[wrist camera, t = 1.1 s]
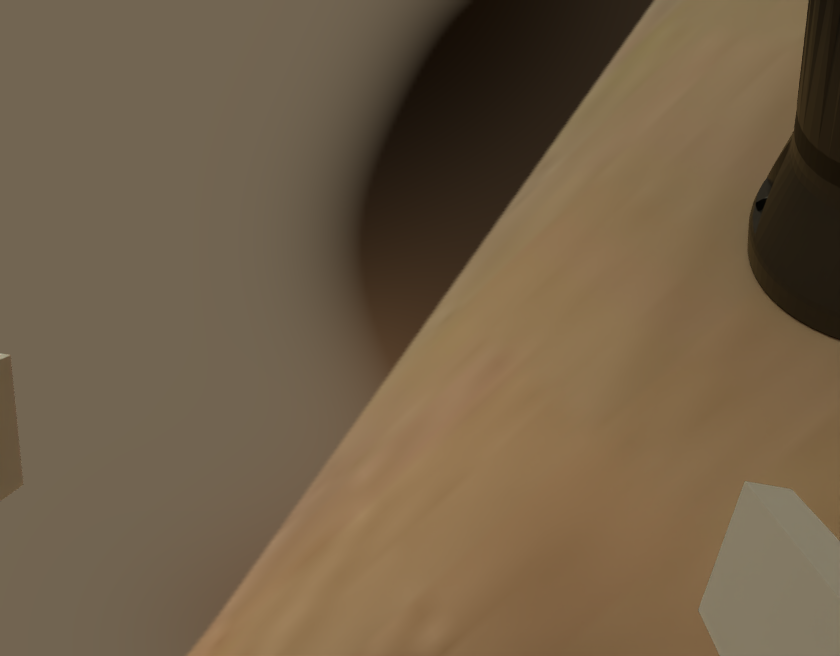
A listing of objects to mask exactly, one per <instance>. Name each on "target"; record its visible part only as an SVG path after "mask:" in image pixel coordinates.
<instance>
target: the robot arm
mask: <svg viewBox="0 0 840 656" xmlns="http://www.w3.org/2000/svg"><path fill="white" fill-rule="evenodd" d="M748 256H749V261H750V264H751V267H752V270H753V272H754V275H755V277H756V279H757V280H758V282H759V284H760V285H761V286H762V288H763V289H764V291H765V292H766V293H767V294H768V295H769V296H770V298H771V299H772V300H773V301H774V302H776V303H777V304H778V305H779V306H780V307H781V308H782V309H784V310H785V311H786V312H788V313H789V314H790V315H792V316H793V317H795V318H796V319H798V320H799V321H801V322H803V323H805V324H806V325H808V326H810V327H812V328H814V329H816V330H818V331H821V332H823V333H825V334H828V335H830V336H833V337H835V338H838V339H840V0H809V3H808V12H807V21H806V29H805V38H804V47H803V56H802V65H801V73H800V82H799V91H798V100H797V111H796V119H795V127H794V132H793V133H792V135H791V137H790V138H789V140H788V142H787V144H786V145H785V147H784V149H783V150H782V152H781V154H780V155H779V157H778V159H777V161H776V162H775V164H774V166H773V167H772V169H771V171H770V173H769V175H768V177H767V178H766V180H765V181H764V183H763V184H762V186H761V188H760V190H759V192H758V193H757V195H756V198H755V200H754V203H753V206H752V209H751V213H750V219H749V231H748ZM22 485H23V476H22V466H21V456H20V446H19V436H18V426H17V416H16V406H15V396H14V386H13V376H12V367H11V356H10V355H7V354H1V353H0V501H1V500H2V499H4V498H5V497H7V496H8V495H10V494H11V493H12V492H14V491H15V490H16V489H18V488H19V487H20V486H22ZM698 611H699V613H700V615H701V617H702V619H703V621H704V624H705V626H706V628H707V630H708V632H709V634H710V636H711V638H712V640H713V643H714V645H715V647H716V649H717V651H718V653H719V655H720V656H840V541H839V540H838V539H837V538H836V537H835V536H834V534H833V533H832V532H831V531H830V530H829V529H828V528H827V527H826V526H825V525H824V524H823V523H822V521H821V520H820V519H819V518H818V517H817V516H816V515H815V514H814V513H813V512H812V511H811V510H810V508H809V507H808V506H807V505H806V504H805V503H804V502H803V501H802V500H801V499H800V498H799V497H798V495H797V494H796V493H795V492H794V491H793V490H792V489H788V488H783V487H777V486H771V485H765V484H759V483H753V482H748V481H745V482H744V485H743V488H742V490H741V493H740V496H739V499H738V501H737V504H736V507H735V510H734V512H733V515H732V518H731V521H730V523H729V526H728V529H727V532H726V534H725V537H724V540H723V543H722V546H721V548H720V551H719V554H718V557H717V559H716V562H715V565H714V568H713V570H712V573H711V576H710V579H709V581H708V584H707V587H706V590H705V592H704V595H703V598H702V601H701V603H700V606H699V609H698Z"/></svg>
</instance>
